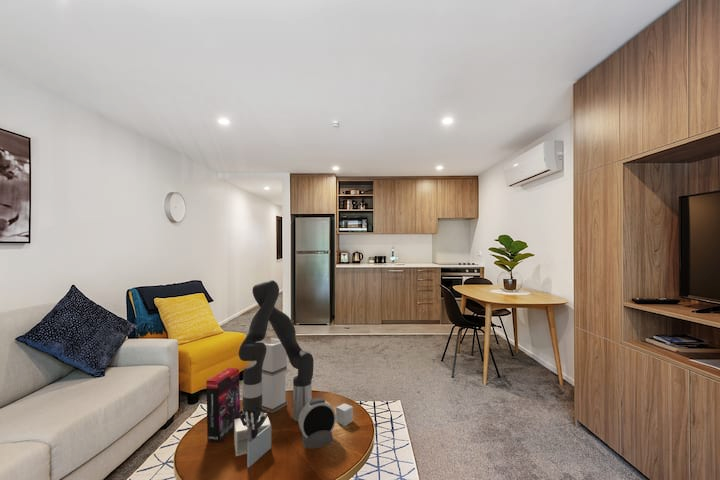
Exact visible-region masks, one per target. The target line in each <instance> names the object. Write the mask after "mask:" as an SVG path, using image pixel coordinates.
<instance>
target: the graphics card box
mask: <svg viewBox="0 0 720 480" xmlns="http://www.w3.org/2000/svg"><path fill="white" fill-rule="evenodd" d="M205 385H206V388H205V389H206V433H207V434H206V436H207V437H206V438H207V439H206V440H207V441H208V442H212V443H213V442H214V443H220V442H222V441H223V439H225V438H226V437H227V436H228V435H229V434H230V433H231V432H232V431H234V419H239V418H240V417H239V415H238V412H239V411H240V410H241V407H240V406H241V402H240V401H241V398H240V397H241V396H240V369H239V368H235V367H227V368H226V369H224V370H222V371H221V372H219V373H217V374H216V375H214V376H213V377H211V378H209V379H207V380H206V384H205Z"/></svg>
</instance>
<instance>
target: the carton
mask: <svg viewBox="0 0 720 480" xmlns="http://www.w3.org/2000/svg"><path fill="white" fill-rule="evenodd" d="M263 413H264V414H267V415H268V412H263ZM244 420H245V419H244ZM259 420H260V416H259ZM245 422H246V421H245ZM258 422H259V421H258ZM269 425H271V421H270V419H269V417H268V416H267V418H266V419H265V421H264V423H263V424H262V426H260V427H259V428H258V434H259V433H260V432H261V431H263V430H264V429H265V428H267V427H268V426H269ZM247 430H248V428H247V426H243V424H242V422H241V419H240V418H239V419H234V429H233V431H234V434H233V435H234V436H233V437H234V438H233V441H234V443H233V445H234V451H235V457H238V456H242V455H247V442H248V434H247ZM258 434H257V435H258Z"/></svg>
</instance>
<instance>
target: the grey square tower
mask: <svg viewBox="0 0 720 480" xmlns="http://www.w3.org/2000/svg"><path fill="white" fill-rule="evenodd" d="M263 343H264V342H263ZM264 344H265V345H266V348H267V351H266V355H265V359H264V362H263V367H262V406H261V407H262V411H265V412H267V413H272V414H274V413H275V412H277V411H279V410H281V409H282V408H285V406H287V405H288V401H287V400H286V373H287V372H288V368H287V367H288V363H287V362H288V356H287V353H286V351H285V349H284V347H283V345H282V344H281V342H280V340H279V338H273V337H271V338H270V343H264ZM273 412H274V413H273Z"/></svg>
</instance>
